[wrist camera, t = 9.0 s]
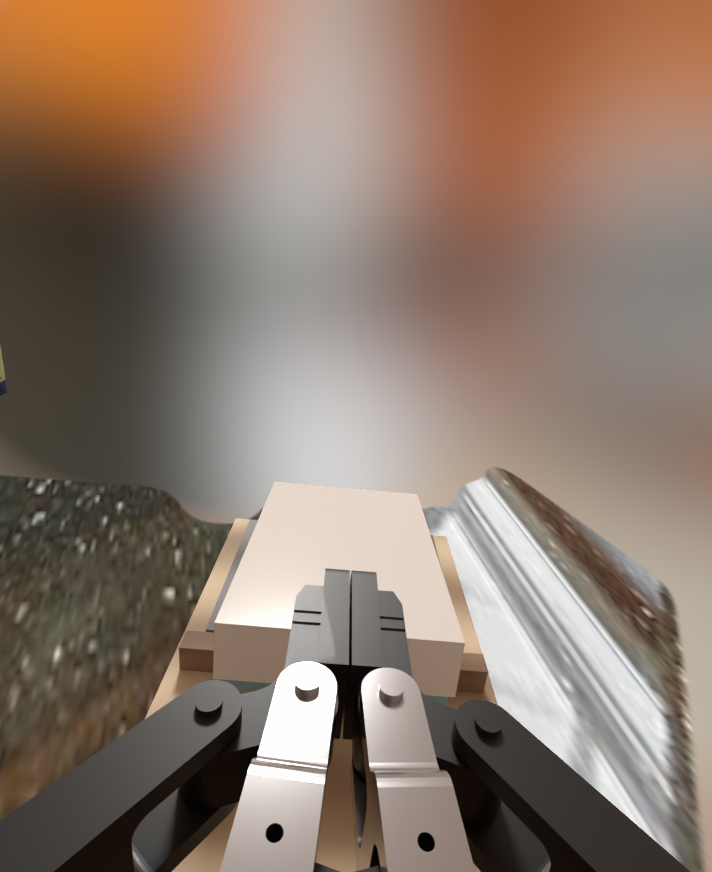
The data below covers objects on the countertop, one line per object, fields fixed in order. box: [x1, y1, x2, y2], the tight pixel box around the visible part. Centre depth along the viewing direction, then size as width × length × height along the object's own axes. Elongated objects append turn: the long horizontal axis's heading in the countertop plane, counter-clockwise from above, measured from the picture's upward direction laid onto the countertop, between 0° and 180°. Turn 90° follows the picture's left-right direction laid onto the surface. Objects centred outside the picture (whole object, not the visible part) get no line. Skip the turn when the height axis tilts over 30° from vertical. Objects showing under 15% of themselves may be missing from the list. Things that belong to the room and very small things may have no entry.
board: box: [145, 519, 498, 872], centre depth 23 cm, size 22×14×2 cm, turn 0°
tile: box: [213, 482, 465, 706], centre depth 25 cm, size 3×9×14 cm
